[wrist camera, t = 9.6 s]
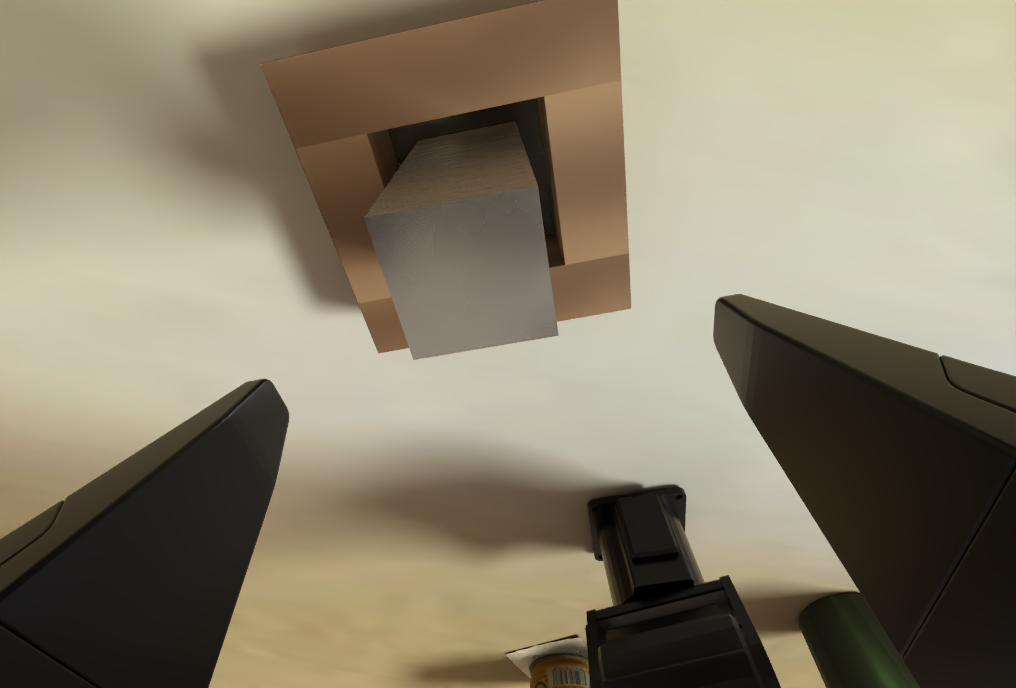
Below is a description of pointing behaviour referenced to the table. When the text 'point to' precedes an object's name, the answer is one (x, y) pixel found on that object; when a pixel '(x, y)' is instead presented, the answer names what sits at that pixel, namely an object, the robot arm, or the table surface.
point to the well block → (460, 89)
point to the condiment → (555, 664)
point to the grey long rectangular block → (465, 244)
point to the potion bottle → (852, 645)
